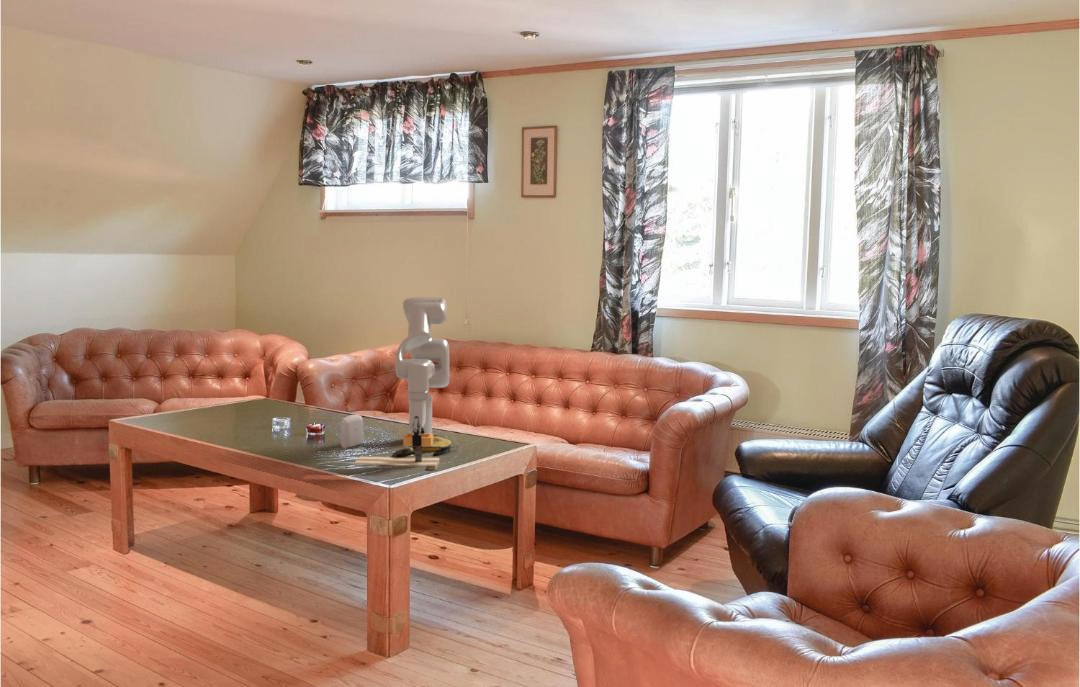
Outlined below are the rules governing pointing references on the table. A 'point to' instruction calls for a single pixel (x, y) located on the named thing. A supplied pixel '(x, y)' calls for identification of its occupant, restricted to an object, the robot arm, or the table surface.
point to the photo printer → (351, 431)
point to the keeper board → (401, 460)
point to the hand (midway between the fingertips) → (418, 443)
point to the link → (425, 440)
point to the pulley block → (437, 447)
